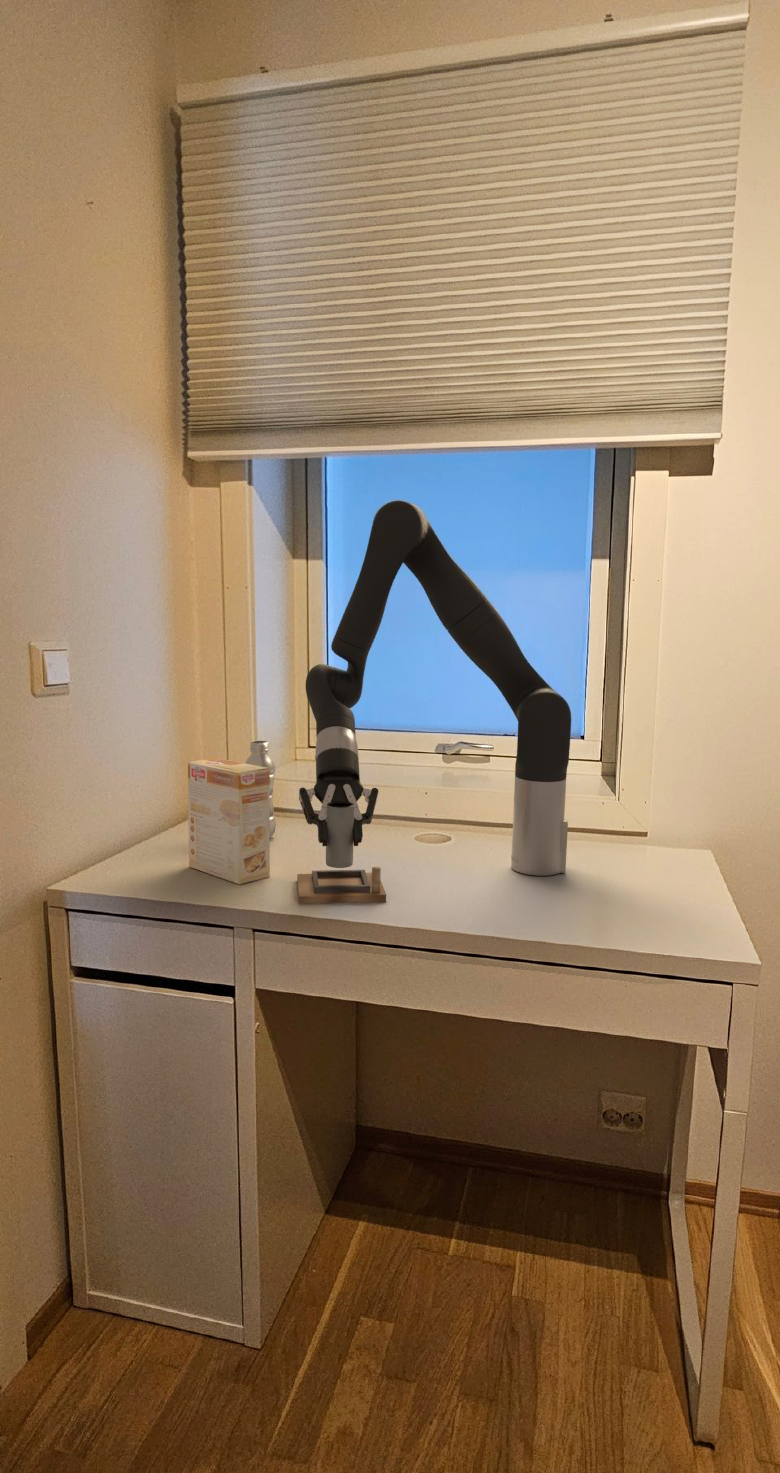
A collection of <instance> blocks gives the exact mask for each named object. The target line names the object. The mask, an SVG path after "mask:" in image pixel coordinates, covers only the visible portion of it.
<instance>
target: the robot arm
mask: <svg viewBox="0 0 780 1473" xmlns="http://www.w3.org/2000/svg"><path fill="white" fill-rule="evenodd" d="M371 525H372V526H371V529H370V534H369V538H368V543H367V547H366V551H365V555H364V559H363V562H362V565H361V568H360V572H359V575H358V578H357V580H356V583H355V586H354V587H353V591H352V592H351V596H350V597H349V600H348V603H347V605H346V606H345V609H344V612H343V614H342V617H341V619H340V621H339V624H338V625H337V626H338V627H337V629H336V632H335V634H334V636H333V638H332V641H331V644H330V645H331V647H330V648H331V651H332V652H333V653H334V654H335V655H336V656H338V658H341V659H343V660H344V661H346V662H347V668H346V670H344V669H341V668H338V667H335V666H332V665H330V664H329V665H328V664H325V663H320V664H319V663H318V664H317V665H313V667H311V669H310V670H309V671H308V674H307V675H306V677H305V694H306V698H307V700H308V703H309V706H310V709H311V712H312V715H313V717H314V719H315V722H316V725H315V727H316V728H315V730H316V732H315V733H316V734H315V735H316V741H315V755H314V760H315V784H314V786H313V787H312V788H309V789H307V788H306V787H300V788H299V789H298V801H299V804H300V806H301V809H302V812H303V814H304V817H305V820H306V823H307V824H308V825H316V827H317V841H318V843H319V844H322V847H326V846H327V803H329V802H334V801H346V802H351V803H353V804H354V838H353V847H359V844H361V843H362V841H363V836H364V835H363V826H364V825H365V824H366V825H370V824H372V820H373V816H374V814H375V813H374V812H375V808H376V805H377V800H378V796H379V789H378V788H377V787H373V788H372V789H369V788H365V787H364V786H363V785H362V783H361V780H360V779H361V777H360V776H361V775H360V763H359V762H360V761H359V760H360V759H359V748H358V747H359V746H358V741H357V737H356V734H357V733H356V722H355V719H356V718H355V715H354V713H353V710H351V709H352V708H353V707H355V706H356V705H357V703H359V702H360V699H361V697H362V693H363V686H364V677H365V676H364V675H365V671H366V665H367V660H368V656H369V653H370V650H371V649H372V646H373V643H374V641H375V639H376V638H377V637H376V636H377V635H378V632H379V629H380V626H381V624H382V620H383V617H384V614H385V610H386V605H387V603H388V598H389V595H390V593H391V592H390V591H391V589H392V586H393V585H394V584H393V583H394V581H395V579H396V576H397V574H398V572H399V571H400V568H401V567H402V565H403V564H404V565H405V566H406V567H407V569H408V570H409V571H410V572H411V574H413V576H414V577H415V578H416V579H417V581H418V582H419V584H420V585H421V587H422V589H423V590H424V594H426V596H427V599H428V600H429V603H430V605H431V606H432V608H433V610H434V613H435V614H436V616H437V617H438V619H439V622H441V624H442V626H443V628H445V630H446V631H447V633H448V634H449V635H450V637H451V638H452V639H453V641H455V643H456V644H457V646H458V647H459V648H460V649H461V650H462V651H463V653H464V654H465V655H466V656H467V658H469V659H470V661H471V662H473V664H475V666H476V667H477V668H478V669H479V670H481V672H483V673H484V674H485V675H486V676H487V677H488V678H489V679H490V681H492V683H493V684H494V685H495V686H496V688H497V689H498V690H499V692H500V693H501V695H502V696H503V698H504V699H505V701H506V702H507V704H508V706H509V708H510V709H511V711H512V712H513V714H514V716H515V718H516V720H517V738H516V739H517V743H516V758H515V767H514V792H513V813H512V814H513V817H512V836H511V837H512V841H511V866H510V867H511V869H512V870H513V871H515V872H516V873H517V872H518V873H520V874H525V875H528V876H529V875H530V876H541V877H543V876H553V875H554V876H555V875H558V874H560V873H563V874H565V873H566V871H567V870H566V869H567V852H568V851H567V848H568V831H569V830H568V829H569V822H568V821H567V819H565V812H566V811H565V810H566V791H567V790H566V788H567V776H568V775H567V772H568V766H569V763H570V762H569V761H570V750H571V733H572V712H571V708H570V706H569V703H568V702H567V701H566V699H565V698H564V697H563V696H562V695H561V694H559V693H558V692H557V691H556V690H555V689H553V687H552V686H550V684H548V682H546V681H545V679H544V678H543V677H542V676H541V674H539V673H538V672H537V671H536V669H535V668H534V667H533V666H532V665H531V663H530V662H529V660H528V659H527V658H526V657H525V655H524V653H523V651H522V649H521V648H520V645H519V644H518V642H517V639H516V638H515V636H514V635H513V633H512V631H511V630H510V627H509V626H508V625H507V623H506V622H505V620H504V618H503V616H501V614H500V613H499V611H498V610H497V609H496V607H495V606H494V605H493V603H491V601H490V600H489V598H488V597H487V596H486V595H485V594H484V593H483V591H482V590H481V589H480V587H479V586H478V585H477V583H476V582H474V581H473V579H472V578H471V577H470V576H469V575H468V574H467V573H466V572H465V571H464V570H463V569H462V568H461V566H460V565H459V564H458V563H457V562H456V561H455V560H454V559H453V557H452V556H451V555H450V554H449V552H448V551H447V549H446V548H445V545H443V543H442V541H441V540H440V539H439V536H438V535H437V533H436V532H435V530H434V528H433V526H432V525H431V523H430V521H429V520H428V518H427V516H426V514H425V512H424V511H423V510H422V509H421V508H420V507H418V506H417V505H416V504H414V503H411V502H409V501H406V500H404V499H396V500H395V499H394V500H391V501H388V502H386V503H385V504H384V503H383V505H382V506H380V507H379V509H378V510H377V511H376V513H375V515H374V517H373V521H372V524H371ZM314 796H315V798H316V799H317V800H319V802H320V803H321V808H320V810H319V813H315V810H314V808H313V805H312V802H313V797H314ZM362 796H363V797H364V801H365V803H367V807H366V809H365V812H364V813H361V810H360V809H359V804H358V801H359V800H360V799H361V797H362Z"/></svg>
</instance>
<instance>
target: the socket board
mask: <svg viewBox="0 0 780 1473" xmlns="http://www.w3.org/2000/svg"><path fill="white" fill-rule="evenodd" d="M381 870H382V868H381V867H380V866H372V868H371V872H366V870H365V869H335V870H334V869H333V870H332V869H331V870H328V869H327V870H325V869H324V870H323V869H322V870H311V873H297V875H296V876H297V878H296V883H297V895H298V896H297V897H298V905H306V904H307V905H308V904H309V903H311V904H312V903H315V904H348V903H349V904H350V903H351V904H352V903H355V902H357V903H383V902H384V903H386V902H387V893H386V891H385V888H384V885H383V882H382V881H381V880H382V879H381V876H382V875H381V874H382V873H381V872H382V871H381ZM311 904H310V905H311Z"/></svg>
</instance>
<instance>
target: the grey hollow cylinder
mask: <svg viewBox="0 0 780 1473" xmlns="http://www.w3.org/2000/svg"><path fill="white" fill-rule="evenodd" d="M326 821H327V846H325V865H326V866H327V867H329V868H334V869H335V868H336V869H346V868H350V867H352V866H353V865H354V864H353V863H354V842H353V838H354V804H353V803H351V802H346V801H334V802H329V803H327V820H326Z"/></svg>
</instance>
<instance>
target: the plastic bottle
mask: <svg viewBox="0 0 780 1473" xmlns="http://www.w3.org/2000/svg"><path fill="white" fill-rule="evenodd" d="M269 744H270V742H269V741H267V740H254V741H253V740H252V741H250V748H249V751H250V752H251V754H250V755H249V756H248V757H247V759H245V762H244V763H245V764H250V765H255V766H261V767H266V768H270V838H271V837H273V836H274V834H275V832H276V829H277V828H276V827H277V824H276V816H275V812H274V802H273V801H274V800H273V798H274V795H273V793H274V782H275V776H276V765H275V762H274V760H273V758H272V757H271V756H270V755H269V752H270V748H269Z"/></svg>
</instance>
